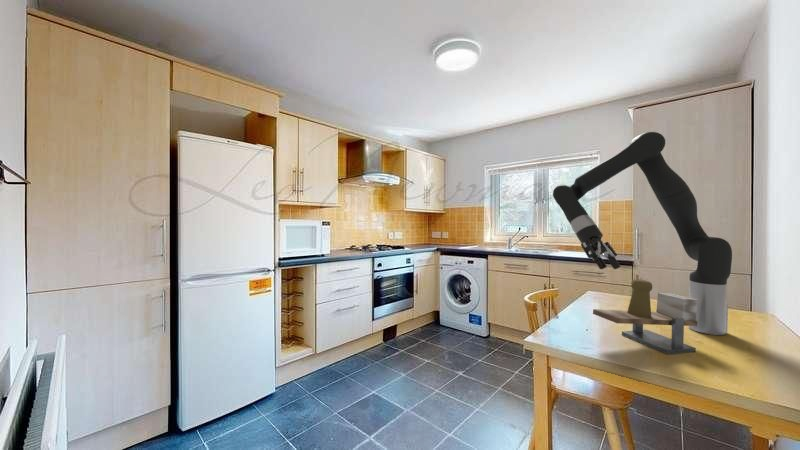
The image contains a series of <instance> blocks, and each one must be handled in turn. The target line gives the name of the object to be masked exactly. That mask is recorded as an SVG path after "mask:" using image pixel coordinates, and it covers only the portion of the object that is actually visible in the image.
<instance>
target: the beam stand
mask: <svg viewBox="0 0 800 450" xmlns="http://www.w3.org/2000/svg"><path fill="white" fill-rule="evenodd" d="M684 333H685V326H684V318H681V317H677V318H672V326H671V338H670V337H667V336H665V335H663V334H659V333H657V332H654V331H651V330H650V329H644V324H632V330H623V331H621V335H622V336H623V337H626V338H628V339H630V340H633V341H635V342H637V343H640V344H641V345H645V346H646V347H649V348H652V349H654V350H656V351H658V352H661V353H664V354H665V355H676V354H677V355H679V354H687V353H688V354H689V353H696V350H697V347H694V346H692V345H689V344H687V343H684V335H685V334H684Z"/></svg>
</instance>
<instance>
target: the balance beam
mask: <svg viewBox="0 0 800 450" xmlns="http://www.w3.org/2000/svg"><path fill="white" fill-rule="evenodd" d="M656 301H657V303H656V311H651V318H645V317H639V316H635V315H631V314H629V313H627V311H628V310H620V309H596V308H594V309H592V314H593V315H595V316H597V317H599V318H603V319H605V320H607V321H610V322H613V323H615V324H621V325H622V324H624V325H627V324H629V325H633V324H643V325H653V326H654V325H656V326H657V325H658V326H659V325H660V326H671V327H672V318H677V317H681V318H684V327H685V326H687V327H689V326H697V321H696V311H697V300H696V299H692V298H689V297H687V296H683V295H680V294H679V295H678V294H674V293H669V292H668V293H666V292H658V293H657V299H656Z"/></svg>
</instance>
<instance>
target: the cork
mask: <svg viewBox="0 0 800 450" xmlns="http://www.w3.org/2000/svg"><path fill="white" fill-rule="evenodd" d="M631 288H632V293H631V296H630V299H629V300H630V301H629V304H628V307H627V310H626V311H627V313H629V314H631V315H635V316H639V317H645V318H651V312H652V309H651V307H652V306H651V295H650V292H651V291H652V290H653V284H652V282H651V281H648V280H646V279H633V280H632V281H631Z"/></svg>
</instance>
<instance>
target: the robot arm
mask: <svg viewBox="0 0 800 450" xmlns="http://www.w3.org/2000/svg"><path fill="white" fill-rule="evenodd" d="M665 147H666V138H665V136H663V134H661V133H660V132H656V131H647V132H643V133H641V134H639V135H637V136H635V137H634V138H633V139H632V140H630V142H629V143H628V146H626V147H625V148H624V149H623V150H621V151H619V153H617V154H614V155H613V156H612V157H610V158H608V159H606V160H604V161H603V162H601V163H599V164H597V165H595V166H594V167H592V168H590V169H589V170H587V171H585V172H583V173H582V174H581V175H579V176H577V177H576V178H575V179H574V182H573V184H571V185H570V186H568V185H566V184H559V185H557V186H555V188H554V189H553V192H552V198H553V199H554V200H555V203H556V204H557V205H558V206H559V207H560V209H561V210H562V212H563V214H564V215H565V218H566V220H567V222H568V223H569V225H570V226H571V229H572V230H573V232H574V234H575V235H576V237H577V239H578V240H579V242H580V246H581V248H582V250H583V251H584V253H585V255H586V256H587V258H588V259H592V260H593V261H594V262H595V264H596V266H597V267H598V269H600V270H604V269H606V268H607V267H608V266H607V264H606V262H605V261H604V260H603V258H602V257H604V258H606V259H607V260H608V262H609V264H610V266H611V267H612V268H613V270H617V269H619V268H621V266H622V265H621V264H620V263H619V262H618V260H617V259H616V257H617V256H618V254H617V252H616V251H615V250H614V248H613V247H612V245H611V244H610V242H608V241H606V242H604V241H603V240H602V238H603V233H602V231H601V230H600V228H599V226H598V225H597V223H596V222H595V220H594V219H593V218H592V217H591V216H590V215H589V214H588V212H587V210H586V209H585V208H584V206H583V205H582V204H581V203H580V199H582V198H583V197H584V196H585V195H586V194H587V193H588V192H590V191H592V190H594V189H596V188H598V187H599V186H601V185H602V184H603V183H605V182H607V181H609V180H610V179H611V178H614V176H616V175H618V174H620V173H621V172H623V171H624V170H626V169H628V168H630V167H632V166H634V165H637V166H638V167H639V168H640V170H641V171H642V173H643V175H644V176H645V178H646V180H647V182H648V184H649V186H650V188H651V190H652V192H653V193H654V196H655V197H656V199H657V201H658V203H659V205H660V206H661V208H662V209H663V211H664V213H665V214H666V215H667V217H668V219H669V221H670V222H671V224H672V226H673V227H674V228H675V230H676V233H677V235H678V238H679V240H680V242H681V244H682V246H683V249H684V252H685V253H686V254H687V256H688V257H689V258H690V259H692V260H694V261H696V262H697V267H696V269H695V270H694V271H691V272H690V274H689V290H688V291H689V292H688V293H689V297H688V298H692V299H696V300H697V311H696V321H697V326H688V329H690V330H692V331H695V332H698V333H701V334H708V335H713V336H725V335H726V334H727V333H728V324H729V323H728V320H729V318H728V316H729V315H728V314H729V312H728V311H729V307H728V305H727V296H728V295H727V293H728V291H727V289H728V288H727V287H728V279H729V277H730V276H731V272H732V262H733V261H732V259H733V249H732V245H731V244H730V243H729V242H728V241H727V240H726V239H724V238H721V237H716V236H709V235H708V234H707V233H706V232H705V230H704V229H703V226H702V225H701V223H700V221H699V218H698V205H697V204H698V203H697V199H696V197H695V196H694V194H693V192H692V190H691V189H690V187H689V185H688V184H687V183H686V181H685V180H684V179H683V178H682V177H681V176H680V175H679V174H678V173H677V172H676V171H675V170H673V169H672V168H671V167H670V166H669V164H668V163H667V162H666V160H665V159H664V157H663V154H662V151H663V150H664V149H665Z"/></svg>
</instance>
